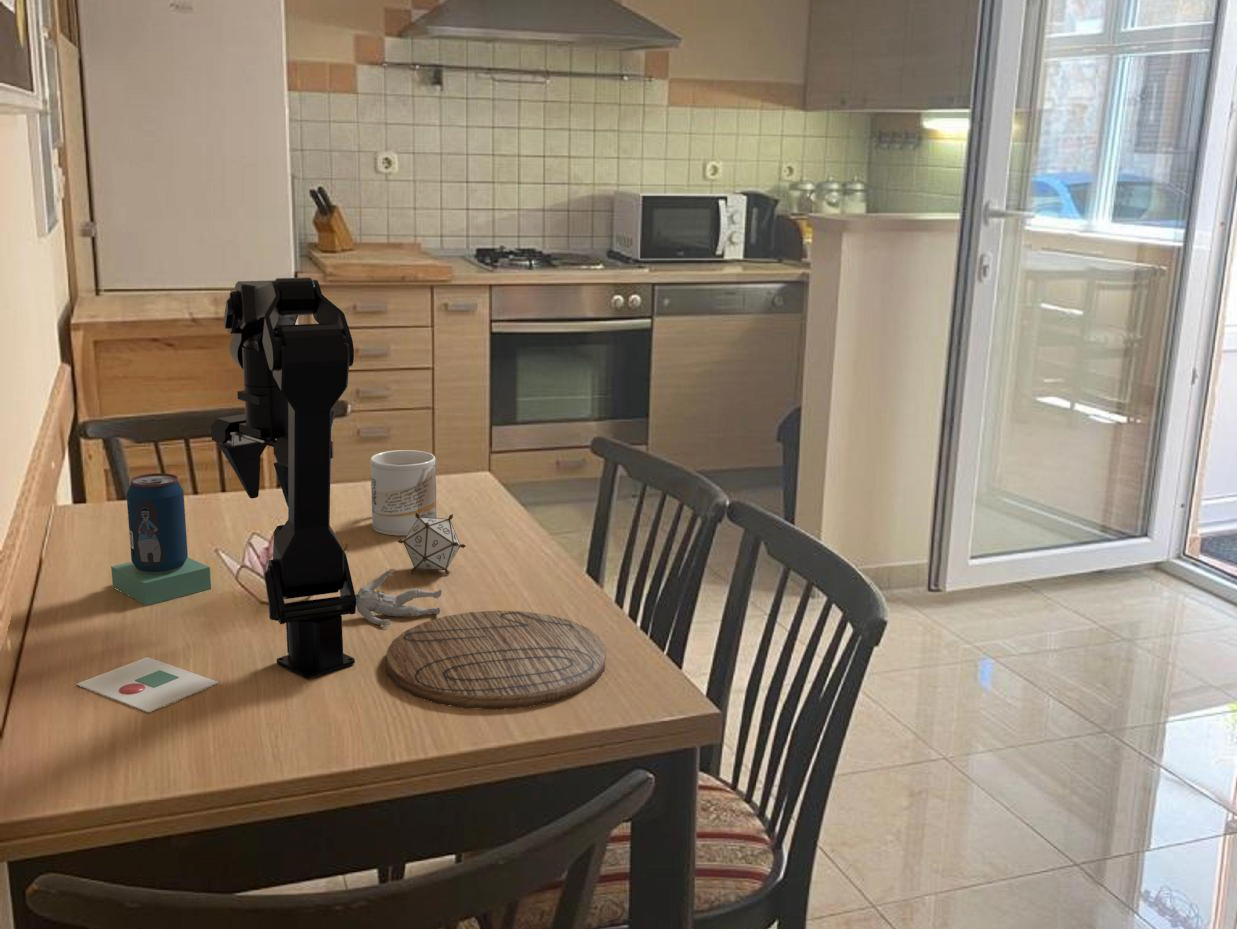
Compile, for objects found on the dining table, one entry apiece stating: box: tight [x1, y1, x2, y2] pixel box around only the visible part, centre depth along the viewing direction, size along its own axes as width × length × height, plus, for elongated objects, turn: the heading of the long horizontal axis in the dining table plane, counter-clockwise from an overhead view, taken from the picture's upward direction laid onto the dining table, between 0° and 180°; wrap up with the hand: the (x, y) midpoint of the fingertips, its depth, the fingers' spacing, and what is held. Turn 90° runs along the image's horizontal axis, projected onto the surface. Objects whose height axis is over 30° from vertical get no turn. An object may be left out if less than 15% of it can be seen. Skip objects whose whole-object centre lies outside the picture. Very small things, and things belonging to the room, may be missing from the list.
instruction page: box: [76, 656, 220, 713], centre depth 136 cm, size 12×9×1 cm
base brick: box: [111, 557, 212, 606], centre depth 165 cm, size 10×9×3 cm
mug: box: [370, 449, 437, 537], centre depth 194 cm, size 10×12×11 cm
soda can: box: [126, 472, 189, 574], centre depth 163 cm, size 7×7×12 cm
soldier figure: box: [355, 568, 443, 627], centre depth 157 cm, size 8×5×12 cm
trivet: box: [386, 610, 607, 710], centre depth 144 cm, size 25×25×2 cm
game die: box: [397, 513, 467, 576], centre depth 173 cm, size 9×8×10 cm
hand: (273, 505), depth 158 cm, fingers open, 9 cm apart
